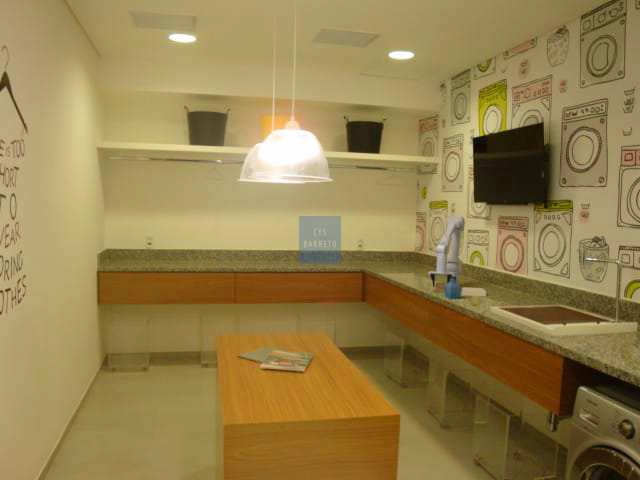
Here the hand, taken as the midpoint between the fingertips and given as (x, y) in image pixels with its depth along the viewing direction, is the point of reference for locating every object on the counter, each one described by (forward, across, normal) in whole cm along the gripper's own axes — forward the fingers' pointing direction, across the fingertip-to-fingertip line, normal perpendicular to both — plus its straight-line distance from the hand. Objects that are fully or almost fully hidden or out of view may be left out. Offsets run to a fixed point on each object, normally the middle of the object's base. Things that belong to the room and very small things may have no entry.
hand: (440, 287), depth 306 cm
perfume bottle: (+3, +5, -18) cm, 19 cm away
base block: (+3, +19, 0) cm, 19 cm away
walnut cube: (+3, 0, 0) cm, 3 cm away
